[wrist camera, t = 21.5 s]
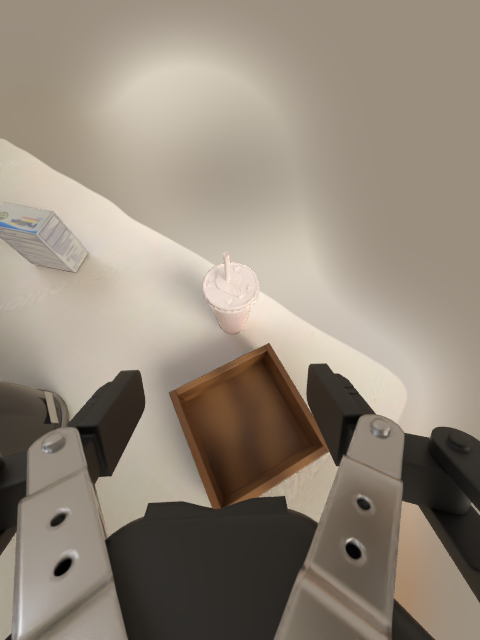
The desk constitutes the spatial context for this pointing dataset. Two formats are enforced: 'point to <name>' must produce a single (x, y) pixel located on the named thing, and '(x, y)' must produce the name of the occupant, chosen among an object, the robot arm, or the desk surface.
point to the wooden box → (247, 427)
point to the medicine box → (40, 237)
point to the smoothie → (231, 293)
